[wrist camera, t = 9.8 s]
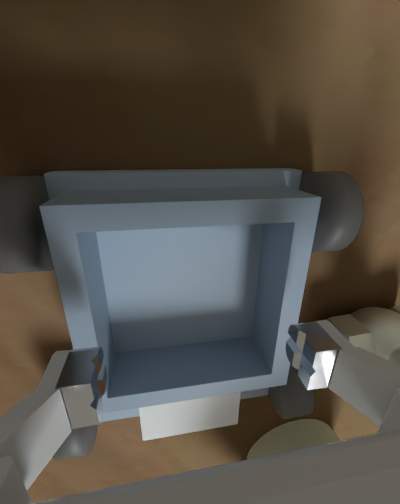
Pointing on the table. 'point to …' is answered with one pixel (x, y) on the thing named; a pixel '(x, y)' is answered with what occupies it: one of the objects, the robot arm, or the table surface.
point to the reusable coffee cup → (293, 437)
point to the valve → (372, 330)
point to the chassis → (180, 281)
